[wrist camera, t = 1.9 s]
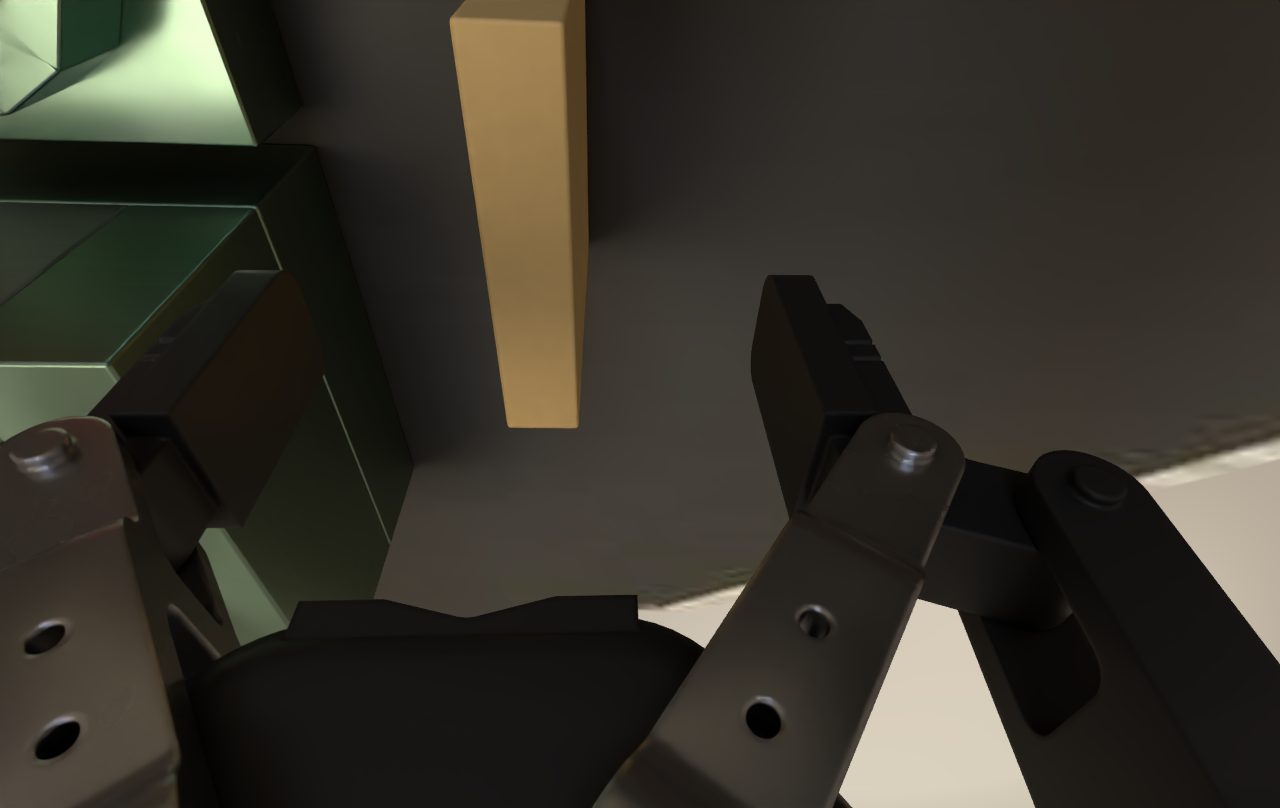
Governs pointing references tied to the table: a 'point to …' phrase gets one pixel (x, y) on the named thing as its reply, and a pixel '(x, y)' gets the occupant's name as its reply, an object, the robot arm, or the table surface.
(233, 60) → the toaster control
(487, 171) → the toast
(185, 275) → the toaster
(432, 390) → the table surface
